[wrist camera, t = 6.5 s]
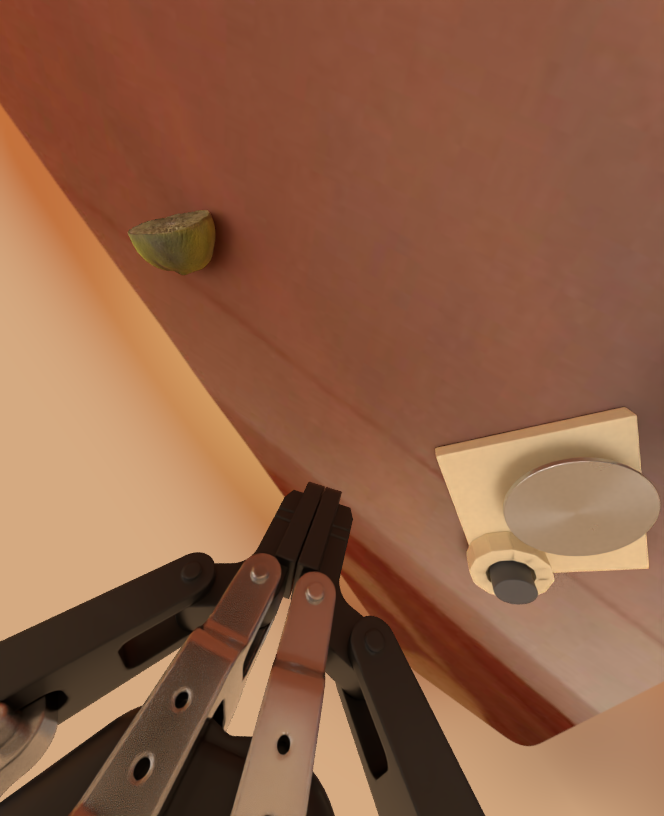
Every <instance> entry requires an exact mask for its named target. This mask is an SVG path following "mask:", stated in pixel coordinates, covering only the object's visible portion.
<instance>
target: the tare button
mask: <svg viewBox="0 0 664 816" xmlns="http://www.w3.org/2000/svg"><path fill="white" fill-rule="evenodd" d="M489 574H490V578H491V582H492V586H493V590H494V593H495V595H496V596H497V597H498V598H499V599H500V600H502V601H504V602H507V603H511V604H527V603H530V602H532V601H534V600H535V599H536V598H537V596H538V591H537V588H536V585H535V583H534V580H533V577H532V574H531V572H530V569H529V568H528V567H527V566H526V565H525V564H523V563H521V562H517V561H513V560H509V561H498V562H496V563H494V564H492V565H491V566H490V568H489Z"/></svg>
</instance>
